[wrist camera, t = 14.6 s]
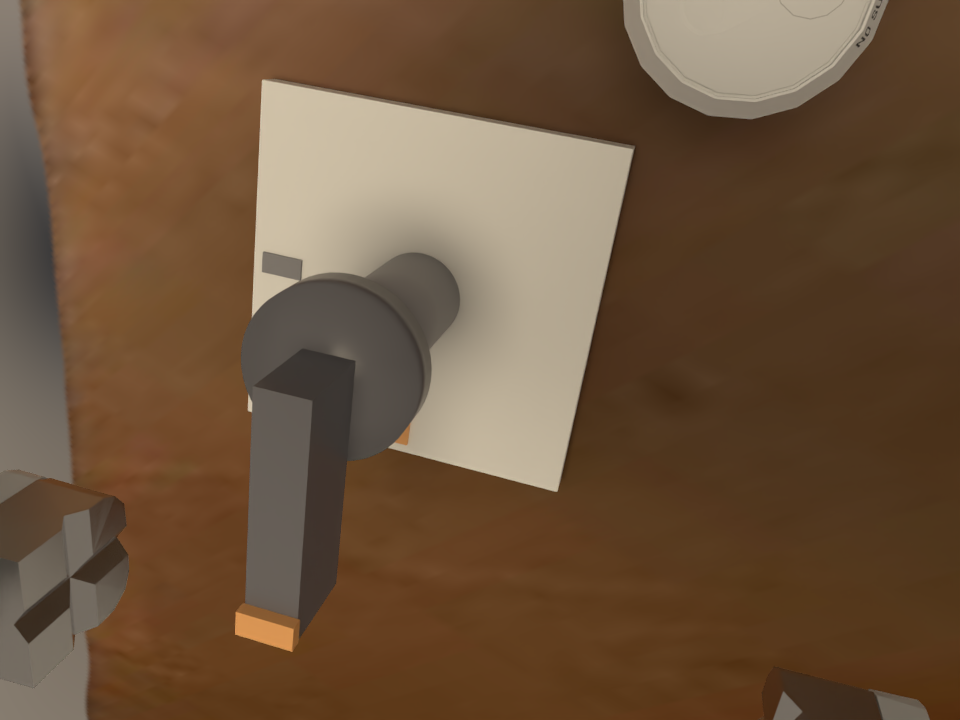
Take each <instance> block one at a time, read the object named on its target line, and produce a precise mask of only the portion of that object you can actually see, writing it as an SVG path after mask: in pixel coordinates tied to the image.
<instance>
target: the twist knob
mask: <svg viewBox="0 0 960 720" xmlns="http://www.w3.org/2000/svg"><path fill="white" fill-rule="evenodd" d="M241 367H242V373H243V379H244V382H245V386H246V389H247V392H248V394H249V396H250V399H251V401H252V427H251V455H250V484H249V512H248V541H247V570H246V598H245V603H243V604H242V605H241V606H240V607H239V609H238V610H237V611H236V624H235V634H236V635H239V636H242V637H245V638H249V639H252V640H255V641H259V642H262V643H265V644H268V645H272V646H275V647H278V648H282V649H285V650H288V651H291V652H292V651H293V650H294V648H295V647H296V645H297V644H298V642H299V638H300V637H301V635H302V634H303V632H304V631H305V629H306V628H307V626H308V625H309V623H310V622H311V620H312V619H313V617H314V616H315V614H316V613H317V611H318V610H319V608H320V607H321V605H322V604H323V602H324V601H325V599H326V598H327V596H328V595H329V593H330V592H331V590H332V589H333V587H334V586H335V584H336V577H337V566H338V555H339V544H340V532H341V521H342V510H343V499H344V488H345V476H346V465H347V461H354V460H359V459H365V458H368V457H370V456H373V455H376V454H378V453H380V452H382V451H384V450H385V449H387V448H388V447H389V446H391V445H392V444H393V443H394V442H395V441H396V440H397V439H398V438H399V437H400V436H401V435H402V433H403V432H404V431H405V430H406V428H407V427H408V426H409V424H410V423H411V422H412V420H413V419H414V418H415V416H416V415H417V414H418V412H419V411H420V410H421V408H422V406H423V404H424V402H425V400H426V397H427V395H428V392H429V388H430V383H431V374H432V365H431V355H430V351H429V346H428V343H427V340H426V337H425V335H424V332H423V330H422V328H421V326H420V324H419V323H418V321H417V320H416V318H415V317H414V315H413V314H412V312H411V311H410V310H409V309H408V307H407V306H406V305H405V304H404V303H403V302H402V301H401V300H400V299H399V298H398V297H397V296H396V295H394V294H393V293H392V292H390V291H389V290H388V289H386V288H385V287H383V286H381V285H379V284H378V283H376V282H374V281H371V280H369V279H367V278H364V277H361V276H357V275H354V274H348V273H340V272H329V273H321V274H317V275H313V276H309V277H307V278H305V279H302V280H300V281H298V282H297V283H295V284H293V285H291V286H290V287H288V288H286V289H285V290H283V291H281V292H279V293H278V294H276V295H275V296H273V297H272V298H270V299H268V300H267V301H266V302H265V303H264V304H263V305H262V306H261V307H260V308H259V309H258V310H257V312H256V313H255V314H254V315H253V317H252V319H251V321H250V322H249V324H248V327H247V329H246V332H245V334H244V338H243V343H242V350H241Z"/></svg>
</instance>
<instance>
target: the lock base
mask: <svg viewBox="0 0 960 720" xmlns="http://www.w3.org/2000/svg"><path fill="white" fill-rule="evenodd" d="M634 149H635V146H633V145H627V144H622V143H616V142H611V141H606V140H600V139H595V138H590V137H584V136H579V135H574V134H568V133H563V132H557V131H552V130H547V129H541V128H536V127H531V126H525V125H520V124H515V123H509V122H504V121H499V120H493V119H488V118H482V117H477V116H472V115H466V114H461V113H456V112H450V111H445V110H440V109H434V108H429V107H423V106H418V105H413V104H407V103H402V102H397V101H391V100H386V99H381V98H375V97H370V96H364V95H359V94H354V93H348V92H343V91H338V90H332V89H327V88H322V87H316V86H311V85H306V84H300V83H295V82H289V81H284V80H279V79H265V80H262V96H261V119H260V142H259V165H258V189H257V212H256V235H255V258H254V281H253V305H252V317H253V315H254V314H255V313H256V312H257V310H258V309H259V308H260V307H261V306H262V305H263V304H264V303H265V302H266V301H267V300H268V299H270V298H272V297H273V296H275V295H276V294H278V293H279V292H281V291H283V290H285V289H286V288H288V287H290V286H291V285H293V284H295V283H297V282H298V281H300V280H302V279H305V278H307V277H309V276H313V275H317V274H321V273H329V272H340V273H348V274H354V275H357V276H361V277H364V278H367V279H369V280H371V281H374V282H376V283H378V284H379V285H381V286H383V287H385V288H386V289H388V290H389V291H390V292H392V293H393V294H394V295H396V296H397V297H398V298H399V299H400V300H401V301H402V302H403V303H404V304H405V305H406V306H407V307H408V309H409V310H410V311H411V312H412V314H413V315H414V317H415V318H416V320H417V321H418V323H419V324H420V326H421V328H422V330H423V332H424V335H425V337H426V340H427V343H428V346H429V351H430V355H431V365H432V374H431V383H430V388H429V392H428V395H427V397H426V400H425V402H424V404H423V406H422V408H421V410H420V411H419V412H418V414H417V415H416V416H415V418H414V419H413V420H412V422H411V423H410V424H409V426H408V427H407V428H406V430H405V431H404V432H403V433H402V435H401V436H400V437H399V438H398V439H397V440H396V441H395V442H394V443H393V444H392V445H391V446H389V447H388V448H391V449H395V450H399V451H403V452H406V453H410V454H414V455H418V456H422V457H425V458H429V459H433V460H437V461H441V462H445V463H448V464H452V465H456V466H460V467H464V468H467V469H471V470H475V471H479V472H483V473H487V474H490V475H494V476H498V477H502V478H506V479H509V480H513V481H517V482H521V483H525V484H529V485H532V486H536V487H540V488H544V489H548V490H551V491H555V492H557V491H558V487H559V484H560V481H561V477H562V472H563V468H564V463H565V459H566V454H567V450H568V445H569V441H570V436H571V432H572V427H573V423H574V418H575V414H576V409H577V405H578V400H579V396H580V391H581V387H582V383H583V378H584V374H585V369H586V365H587V360H588V356H589V351H590V347H591V342H592V338H593V333H594V329H595V324H596V320H597V315H598V311H599V306H600V302H601V297H602V293H603V288H604V284H605V279H606V275H607V270H608V266H609V261H610V257H611V252H612V248H613V244H614V239H615V235H616V230H617V226H618V221H619V217H620V212H621V208H622V203H623V199H624V194H625V190H626V185H627V181H628V176H629V172H630V167H631V163H632V158H633V154H634ZM248 411H250V412H252V401H251V399H250V396H249V398H248Z"/></svg>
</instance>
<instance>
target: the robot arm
mask: <svg viewBox="0 0 960 720" xmlns="http://www.w3.org/2000/svg"><path fill="white" fill-rule="evenodd" d="M125 527H126V517H125V507H124V503H122V502H121V501H120V500H119V499H117V498H116V497H115V496H112V495H108V494H105V493H101V492H98V491H94V490H91V489H87V488H83V487H80V486H76V485H73V484H69V483H65V482H62V481H58V480H55V479H52V478H46V477H43V476H39V475H36V474H32V473H28V472H25V471H21V470H8V471H3V472H1V473H0V679H3V680H6V681H10V682H13V683H17V684H20V685H24V686H28V687H31V688H34V687H36V686H37V685H38V684H39V683H40V682H41V681H42V680H43V679H44V678H45V677H46V676H47V675H48V674H49V673H50V672H51V671H52V670H53V669H54V668H55V667H56V666H57V665H58V664H59V663H60V662H61V661H63V660H64V659H65V658H66V657H67V656H68V655H69V654H70V653H71V652H72V651H73V648H74V638H75V635H76V634H78V633H80V632H84V631H86V630H89V629H91V628H94V627H97V626H99V625H100V624H101V623H102V622H103V621H104V620H105V619H106V618H107V617H108V616H109V615H110V614H111V613H112V611H113V610H114V609H115V607H116V605H117V603H118V601H119V600H120V598H121V596H122V594H123V592H124V590H125V588H126V583H127V578H128V573H129V561H128V554H127V552H126V551H125V549H124V548H123V546H122V545H121V543H120V541H119V540H118V538H117V537H118V535H119V534H120V533H121V532H122V531H123V529H124V528H125ZM762 701H763V711H764V716H763V717H762V718H760V719H758V720H930V719H929V716H928V713H927V711H926V708H925V707H924V706H923V705H922V704H921V703H920V702H919V701H918V700H915V699H911V698H907V697H902V696H898V695H894V694H889V693H885V692H881V691H876V690H872V689H868V690H865V689H862V688H858V687H854V686H850V685H846V684H842V683H838V682H834V681H830V680H827V679H823V678H819V677H815V676H811V675H807V674H803V673H799V672H795V671H791V670H787V669H783V668H779V667H775V666H774V667H773V668H772V670H771V671H770V673H769V675H768V677H767V679H766V682H765V685H764V688H763V691H762Z"/></svg>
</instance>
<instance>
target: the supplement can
mask: <svg viewBox="0 0 960 720" xmlns="http://www.w3.org/2000/svg"><path fill="white" fill-rule="evenodd" d="M887 3H888V0H623V6H624V25H625V28H626V30H627V33H628V35H629V38H630V40H631V43H632V45H633V48H634V50H635V53H636V55H637V58H638V60H639V63H640V65H641V67H642V68H643V69H644V70H645V71H646V72H647V73H648V74H649V75H650V76H651V78H652V79H653V80H654V81H655V82H656V83H657V84H658V85H659V86H660V87H661V88H662V89H663V90H664V92H665V93H666V94H667V95H668V96H669V97H670V98H672V99H674V100H677V101H679V102H681V103H683V104H685V105H687V106H689V107H691V108H693V109H695V110H697V111H699V112H701V113H704V114H706V115H708V116H718V117H730V118H742V119H755V118H759V117H763V116H766V115H770V114H774V113H778V112H781V111H785V110H789V109H793V108H797V107H799V106H800V105H802V104H803V103H805V102H806V101H808V100H809V99H811V98H812V97H814V96H816V95H817V94H819V93H820V92H822V91H823V90H825V89H826V88H828V87H829V86H831V85H833V84H834V83H836V82H837V81H839V80H840V78H841V77H842V76H843V75H844V74H845V72H846V71H847V70H848V69H849V68H850V66H851V65H852V64H853V63H854V62H855V60H856V59H857V58H858V57H859V56H860V54H861V53H862V52H863V51H864V50H865V48H866V47H867V46H868V45H869V44H870V42H871V41H872V40H873V37H874V35H875V32H876V30H877V27H878V25H879V22H880V20H881V17H882V15H883V13H884V10H885V8H886V5H887Z"/></svg>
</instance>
